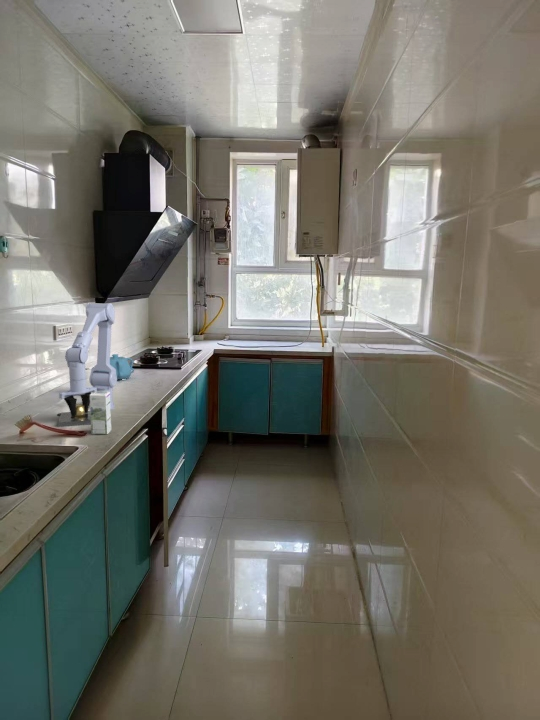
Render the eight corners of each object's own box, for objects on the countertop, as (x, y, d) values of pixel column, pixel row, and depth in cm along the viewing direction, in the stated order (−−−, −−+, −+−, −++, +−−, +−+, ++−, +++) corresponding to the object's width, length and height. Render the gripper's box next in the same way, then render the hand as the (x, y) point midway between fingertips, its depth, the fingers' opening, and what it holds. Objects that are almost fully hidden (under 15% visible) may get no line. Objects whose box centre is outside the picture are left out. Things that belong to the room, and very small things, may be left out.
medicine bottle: (75, 394, 240) (74, 369, 238) (89, 391, 245) (88, 367, 243) (83, 396, 235) (81, 371, 233) (97, 394, 240) (96, 369, 238)
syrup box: (111, 430, 185) (110, 390, 183) (107, 434, 179) (105, 394, 177) (95, 429, 185) (94, 390, 182) (90, 434, 179) (89, 394, 177)
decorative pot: (112, 375, 285) (111, 351, 283) (137, 377, 280) (136, 353, 278) (94, 381, 270) (92, 355, 268) (119, 383, 265) (118, 357, 263)
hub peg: (70, 421, 195) (70, 405, 194) (80, 418, 199) (80, 403, 198) (77, 423, 193) (76, 407, 192) (87, 420, 196) (87, 405, 195)
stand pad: (57, 413, 205) (57, 413, 205) (73, 412, 207) (73, 412, 207) (56, 417, 200) (56, 416, 200) (72, 416, 202) (72, 415, 202)
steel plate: (61, 417, 200) (61, 412, 200) (99, 415, 204) (99, 410, 204) (58, 427, 187) (58, 422, 186) (98, 424, 191) (98, 419, 191)
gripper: (89, 374, 201) (90, 408, 203) (54, 380, 190) (56, 415, 192) (99, 377, 197) (100, 411, 199) (64, 383, 185) (66, 419, 188)
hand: (79, 413), depth 195 cm, fingers closed on hub peg, 4 cm apart
